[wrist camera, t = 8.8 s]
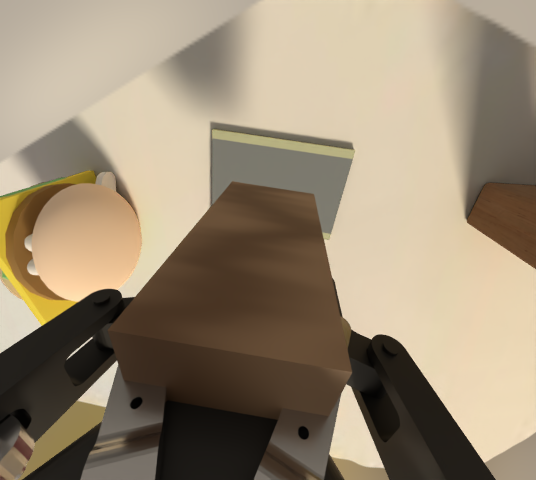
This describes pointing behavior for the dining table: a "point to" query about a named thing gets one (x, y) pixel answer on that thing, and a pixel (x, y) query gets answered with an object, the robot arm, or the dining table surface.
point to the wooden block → (508, 218)
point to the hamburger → (66, 241)
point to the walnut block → (241, 311)
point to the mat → (282, 168)
